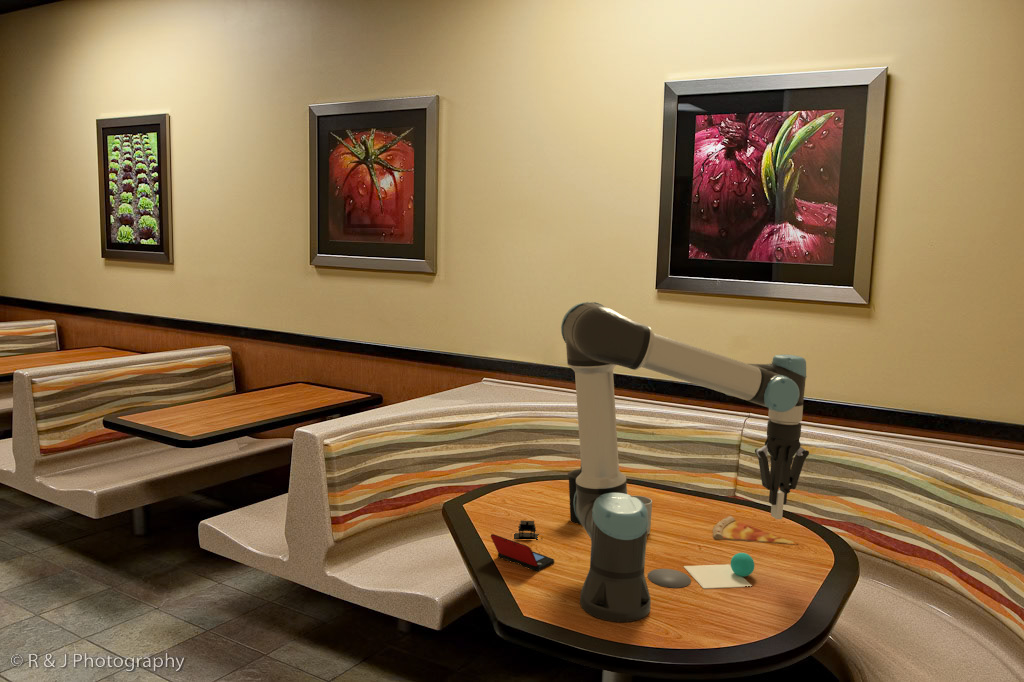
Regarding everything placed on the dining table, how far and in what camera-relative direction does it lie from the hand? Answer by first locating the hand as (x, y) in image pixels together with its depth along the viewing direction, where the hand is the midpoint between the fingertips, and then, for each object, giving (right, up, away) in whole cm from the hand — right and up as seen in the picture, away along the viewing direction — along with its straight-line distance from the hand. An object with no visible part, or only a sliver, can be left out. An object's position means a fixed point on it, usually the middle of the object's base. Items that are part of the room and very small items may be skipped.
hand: (776, 517), depth 186 cm
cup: (-29, -10, +25) cm, 40 cm away
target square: (-14, -14, 0) cm, 20 cm away
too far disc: (-26, -14, -3) cm, 30 cm away
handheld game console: (-61, -12, +4) cm, 62 cm away
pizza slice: (0, -12, +25) cm, 28 cm away
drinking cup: (-44, -9, +33) cm, 56 cm away
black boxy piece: (-59, -10, +20) cm, 63 cm away
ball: (-8, -11, 0) cm, 14 cm away
